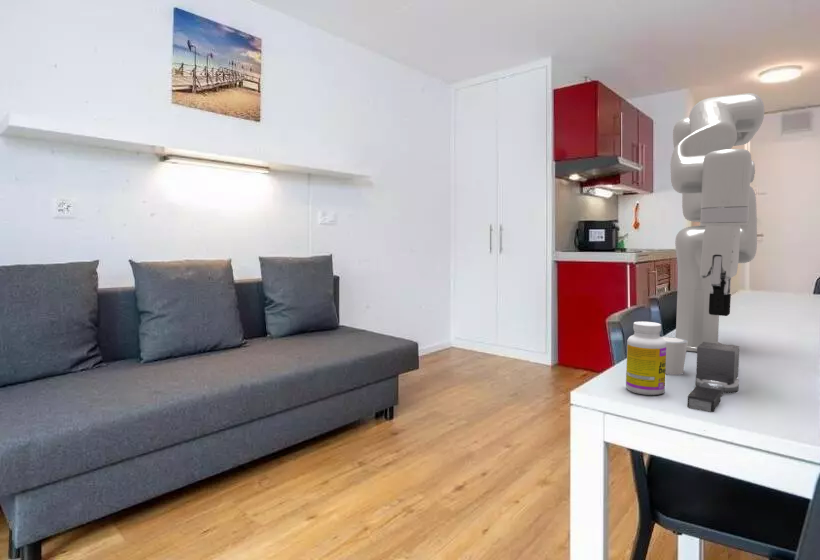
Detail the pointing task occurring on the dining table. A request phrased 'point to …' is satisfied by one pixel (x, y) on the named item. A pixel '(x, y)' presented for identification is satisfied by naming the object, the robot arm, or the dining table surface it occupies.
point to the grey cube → (717, 362)
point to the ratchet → (709, 394)
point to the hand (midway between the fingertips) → (719, 314)
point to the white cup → (675, 355)
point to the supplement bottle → (646, 359)
